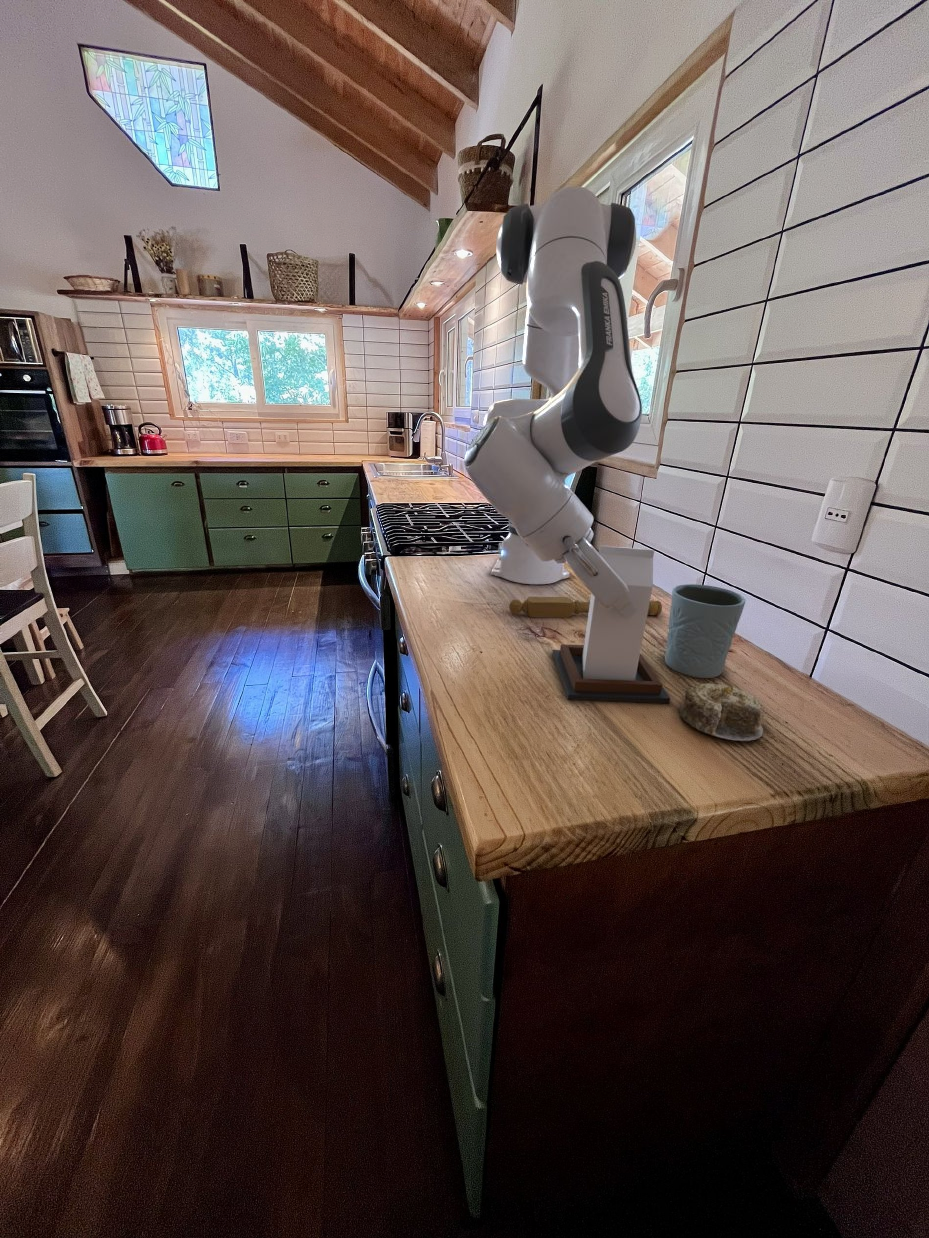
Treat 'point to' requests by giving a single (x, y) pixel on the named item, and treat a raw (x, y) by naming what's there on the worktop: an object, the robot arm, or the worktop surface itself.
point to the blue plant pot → (701, 629)
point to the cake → (723, 712)
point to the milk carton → (619, 618)
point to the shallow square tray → (606, 681)
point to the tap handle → (561, 607)
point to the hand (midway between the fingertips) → (621, 600)
